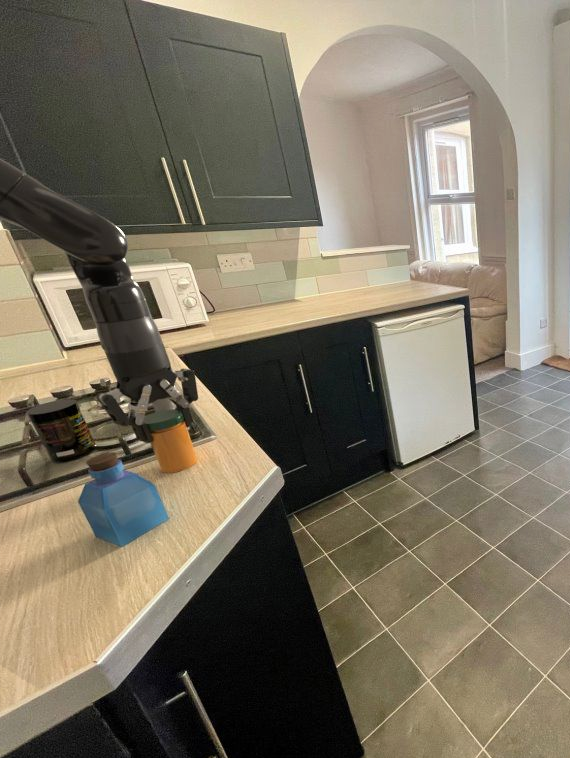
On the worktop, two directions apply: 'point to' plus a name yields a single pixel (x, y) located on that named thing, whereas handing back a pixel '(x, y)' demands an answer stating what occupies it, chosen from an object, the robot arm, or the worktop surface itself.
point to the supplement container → (62, 430)
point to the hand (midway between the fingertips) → (168, 433)
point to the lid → (163, 419)
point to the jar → (173, 448)
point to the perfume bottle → (119, 501)
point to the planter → (164, 405)
